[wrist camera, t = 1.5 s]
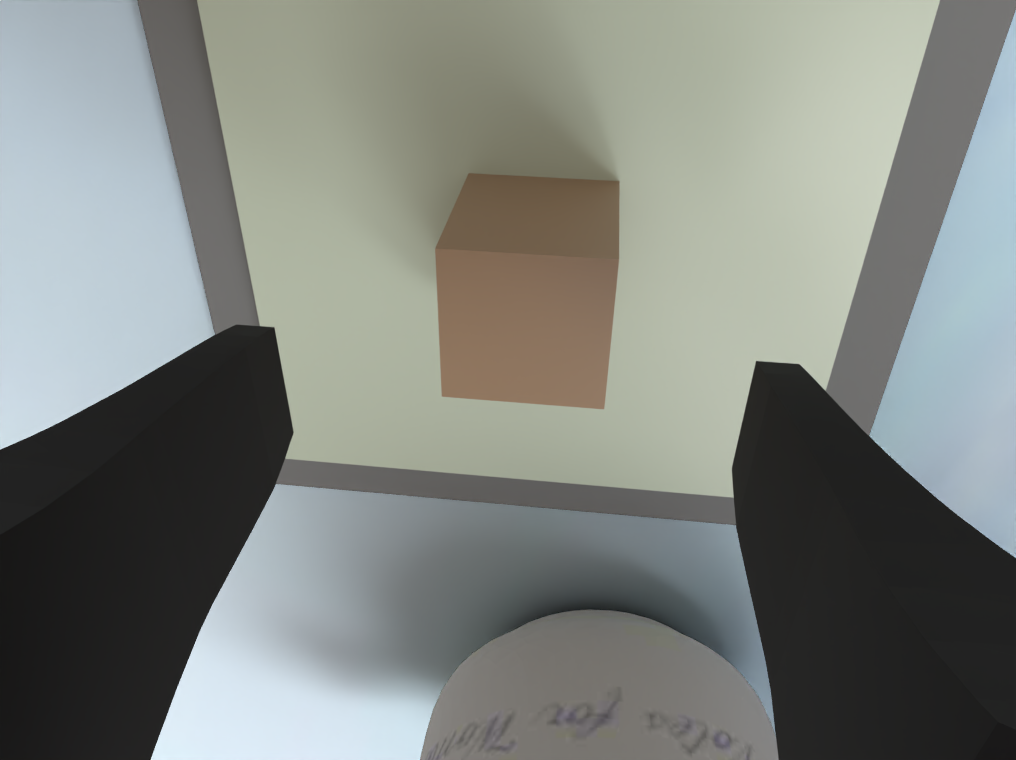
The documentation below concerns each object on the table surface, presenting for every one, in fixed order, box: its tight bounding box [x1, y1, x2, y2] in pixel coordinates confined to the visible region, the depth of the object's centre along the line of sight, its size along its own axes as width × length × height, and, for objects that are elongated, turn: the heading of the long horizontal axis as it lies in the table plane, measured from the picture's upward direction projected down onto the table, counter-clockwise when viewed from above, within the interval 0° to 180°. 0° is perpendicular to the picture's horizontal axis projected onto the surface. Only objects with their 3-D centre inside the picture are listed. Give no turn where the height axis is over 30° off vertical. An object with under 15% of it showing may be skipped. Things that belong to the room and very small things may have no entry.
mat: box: [138, 0, 1016, 525], centre depth 17 cm, size 16×16×1 cm
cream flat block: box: [197, 0, 940, 498], centre depth 15 cm, size 13×13×4 cm
